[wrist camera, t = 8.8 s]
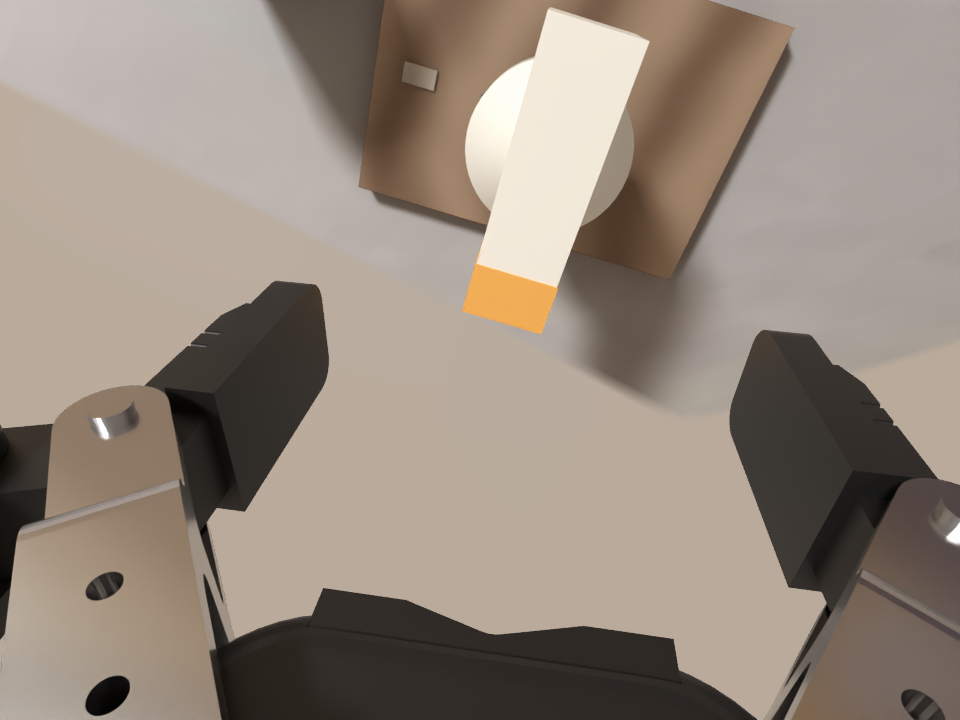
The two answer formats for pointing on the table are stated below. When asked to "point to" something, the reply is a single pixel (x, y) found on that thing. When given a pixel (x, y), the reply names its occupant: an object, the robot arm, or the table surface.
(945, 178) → the table surface
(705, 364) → the table surface
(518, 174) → the twist knob
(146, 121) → the table surface
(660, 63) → the lock base
